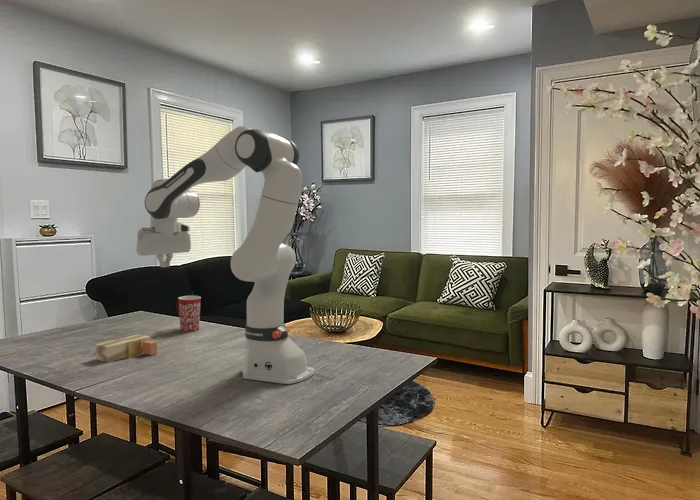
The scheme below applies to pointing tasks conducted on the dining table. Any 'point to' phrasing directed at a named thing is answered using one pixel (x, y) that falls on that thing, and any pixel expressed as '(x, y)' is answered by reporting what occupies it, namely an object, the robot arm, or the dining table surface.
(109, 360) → the block
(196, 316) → the mug
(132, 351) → the pin
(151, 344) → the orange block
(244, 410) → the dining table surface
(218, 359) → the dining table surface
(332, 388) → the dining table surface
